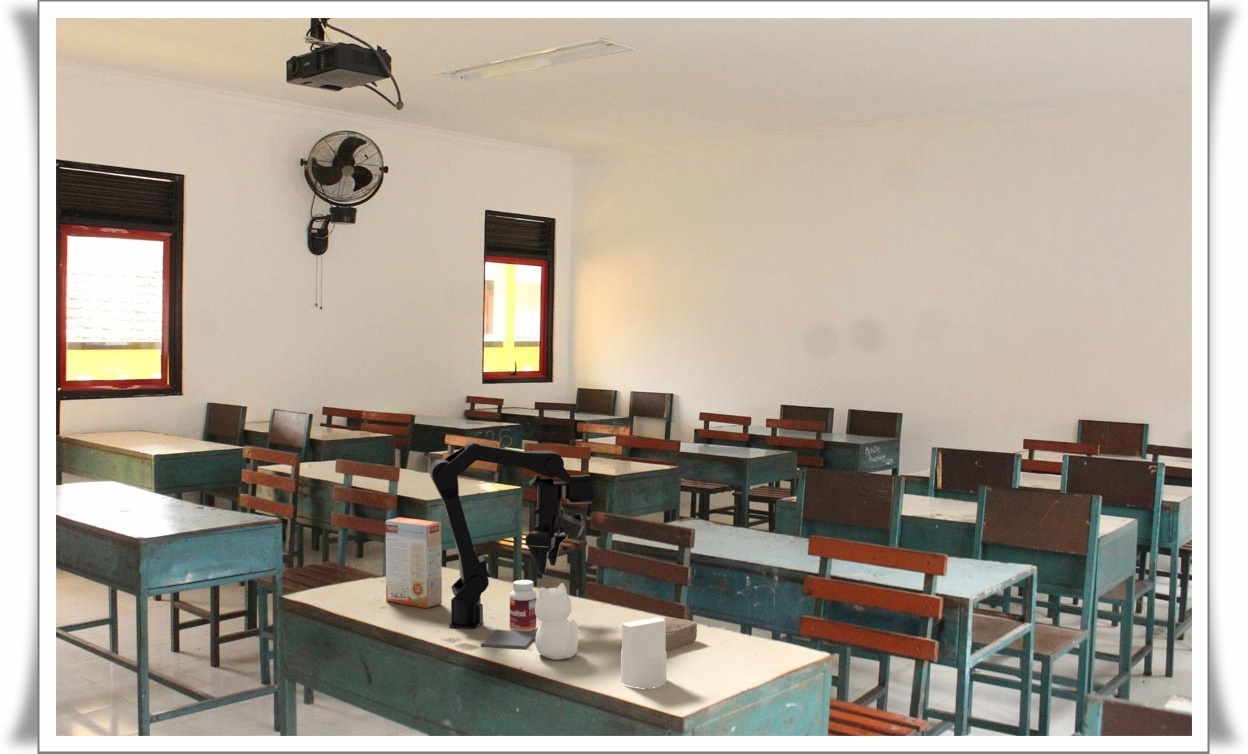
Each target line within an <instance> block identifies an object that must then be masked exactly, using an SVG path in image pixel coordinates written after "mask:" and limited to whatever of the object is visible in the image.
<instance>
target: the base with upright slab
mask: <svg viewBox="0 0 1248 754" xmlns="http://www.w3.org/2000/svg"><path fill="white" fill-rule="evenodd" d="M665 648H666V620H664V619H663V618H662V617H658V616H654V617H650V618H645V619H639V620H638V619H637V620H634V621H628V622H622V623H621V651H620V682H621V681H622V683H624V684H626V685H629V686H633V687H639V688H653V687H658V688H660V687H659V686H662V685H664V684H665V683H666V684H667V651H666V650H665ZM622 683H621V684H622ZM666 684H665V685H666ZM665 685H664V686H665ZM662 687H663V686H662ZM653 689H654V688H653Z"/></svg>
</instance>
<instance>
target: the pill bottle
mask: <svg viewBox="0 0 1248 754" xmlns="http://www.w3.org/2000/svg"><path fill="white" fill-rule="evenodd" d="M512 589H513V590H512V591H510V594H509V629H510V631H525V632H534V630H536V628H537V617H536V614H535V604H536V601H537V598H538V596H537V593H536V592H537V591H534V590H533V589H534V581H533V580H529V579H519V580H515V581H512Z"/></svg>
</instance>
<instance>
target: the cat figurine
mask: <svg viewBox="0 0 1248 754" xmlns="http://www.w3.org/2000/svg"><path fill="white" fill-rule="evenodd" d="M572 610H573V605H572V599H571V598H570V596H569V594H568V593H567V588H566V585H565V583H564V582H561V583H560V584H559V585H558V586H557V587H550V588H545V587H540V588H539V589H538V596H537V601H536V604H535V614H536V619H537V620H539V621H540V622H541V623H540V625H539V627H538V629H537V630H536V632H537V633H536V638H535V648H536V650H537V653H538V654H540V655H541V656H542V657H545V658H548V659H550V660H556V661H561V660H565V659H570V658H572V657H573V656H575V655H576V654H577V651H578V647H579V628H578V624H577V622H576V620H575V619H571V620H568V618H569V617H570V615H571V613H572Z"/></svg>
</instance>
